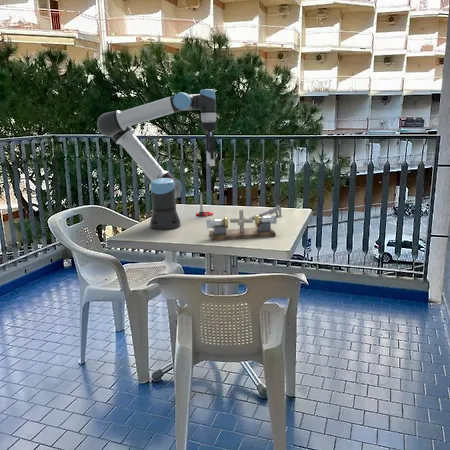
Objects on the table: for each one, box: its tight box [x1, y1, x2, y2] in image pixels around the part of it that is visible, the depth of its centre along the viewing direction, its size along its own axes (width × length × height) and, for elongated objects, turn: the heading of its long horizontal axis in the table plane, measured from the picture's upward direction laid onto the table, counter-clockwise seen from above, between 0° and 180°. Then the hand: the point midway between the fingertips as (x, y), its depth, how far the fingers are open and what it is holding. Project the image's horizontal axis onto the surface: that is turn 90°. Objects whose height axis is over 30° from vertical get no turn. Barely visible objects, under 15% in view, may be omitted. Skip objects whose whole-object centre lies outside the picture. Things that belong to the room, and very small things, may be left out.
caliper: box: [248, 204, 282, 220], centre depth 222 cm, size 20×1×6 cm, turn 117°
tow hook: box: [195, 192, 214, 217], centre depth 235 cm, size 8×13×9 cm
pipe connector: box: [229, 208, 254, 232], centre depth 188 cm, size 10×10×10 cm
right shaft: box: [254, 214, 277, 232], centre depth 190 cm, size 9×6×7 cm, turn 98°
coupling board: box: [208, 226, 277, 242], centre depth 190 cm, size 28×12×2 cm, turn 98°
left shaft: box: [206, 216, 229, 235], centre depth 187 cm, size 9×6×7 cm, turn 98°
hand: (210, 164), depth 216 cm, fingers open, 13 cm apart
